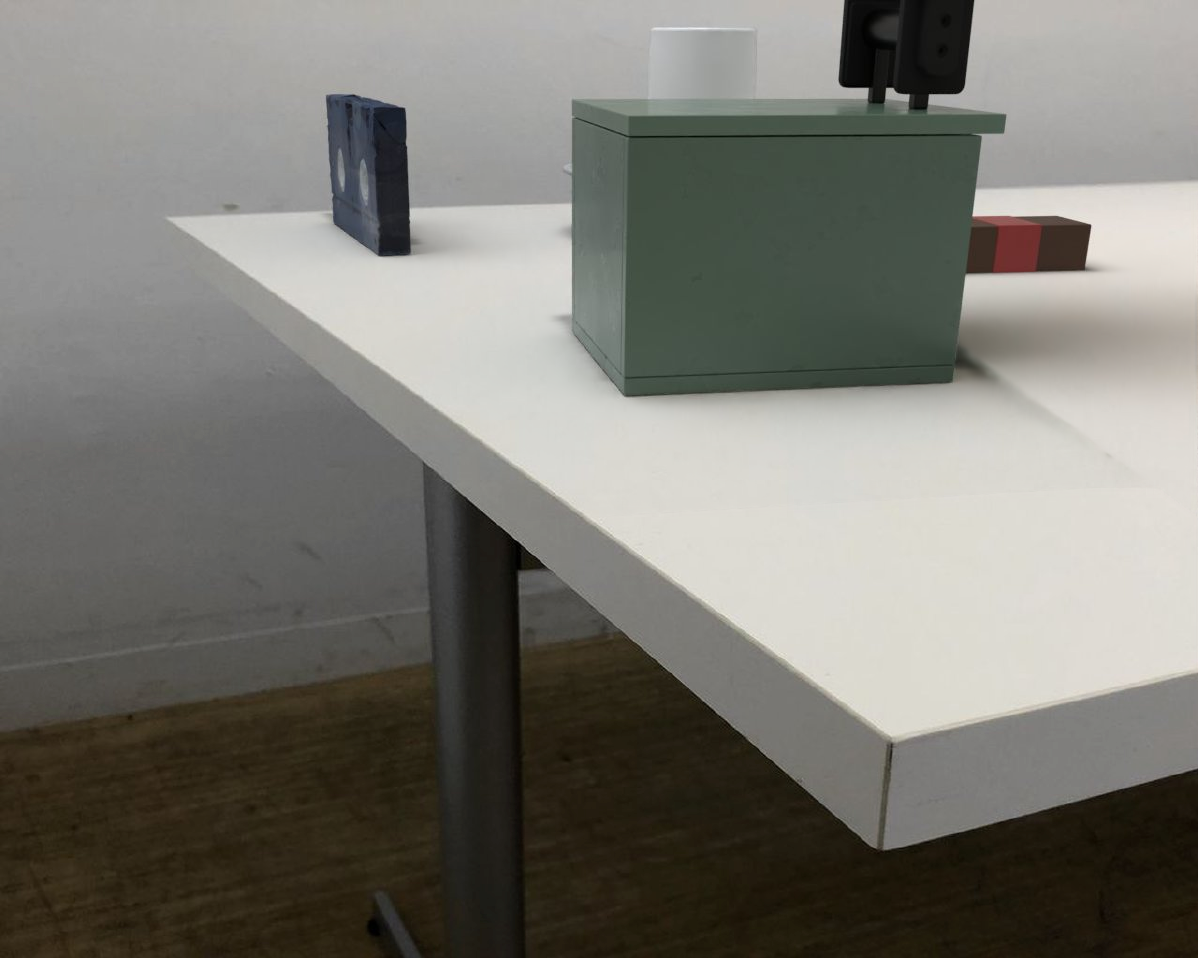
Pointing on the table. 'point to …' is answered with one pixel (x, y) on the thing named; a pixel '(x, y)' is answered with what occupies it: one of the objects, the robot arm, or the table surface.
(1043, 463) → the table surface
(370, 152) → the vhs cassette tape
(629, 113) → the bin lid
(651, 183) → the bin
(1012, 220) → the chocolate bar
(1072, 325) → the table surface
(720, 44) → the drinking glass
